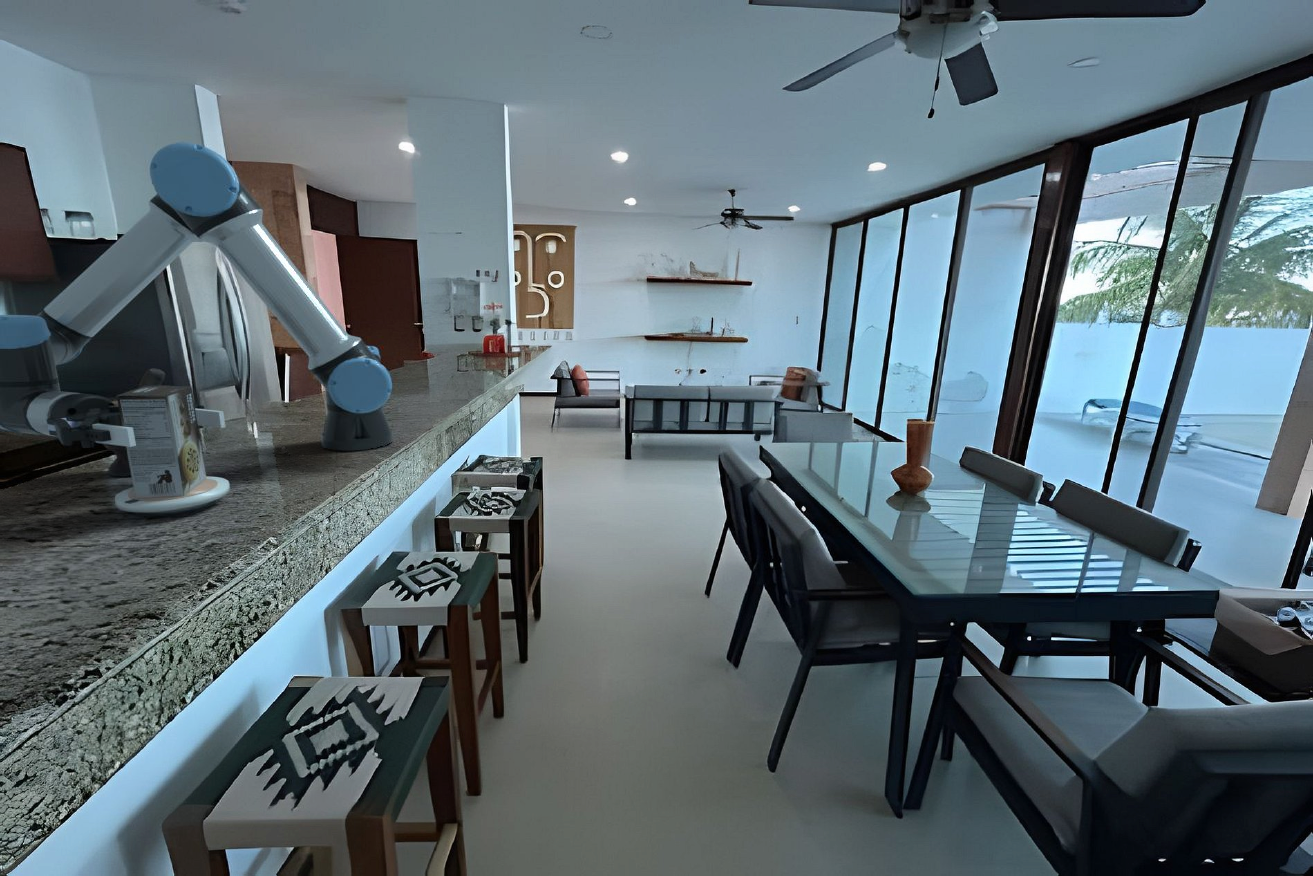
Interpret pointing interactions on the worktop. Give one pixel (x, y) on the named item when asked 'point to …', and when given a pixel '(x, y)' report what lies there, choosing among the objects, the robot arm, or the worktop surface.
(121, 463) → the mortar and pestle
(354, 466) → the worktop surface
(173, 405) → the coffee box
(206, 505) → the turntable base
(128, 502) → the turntable platter
